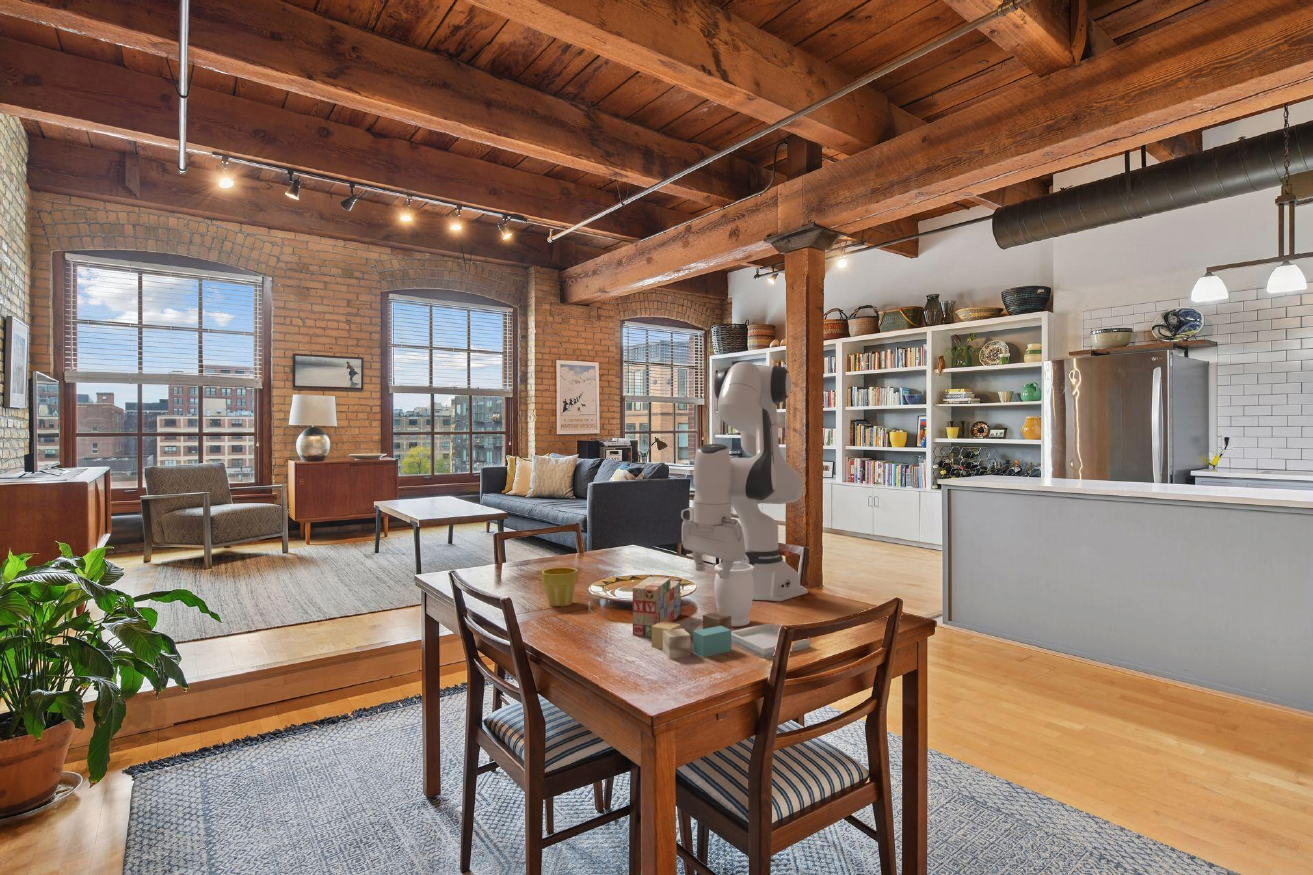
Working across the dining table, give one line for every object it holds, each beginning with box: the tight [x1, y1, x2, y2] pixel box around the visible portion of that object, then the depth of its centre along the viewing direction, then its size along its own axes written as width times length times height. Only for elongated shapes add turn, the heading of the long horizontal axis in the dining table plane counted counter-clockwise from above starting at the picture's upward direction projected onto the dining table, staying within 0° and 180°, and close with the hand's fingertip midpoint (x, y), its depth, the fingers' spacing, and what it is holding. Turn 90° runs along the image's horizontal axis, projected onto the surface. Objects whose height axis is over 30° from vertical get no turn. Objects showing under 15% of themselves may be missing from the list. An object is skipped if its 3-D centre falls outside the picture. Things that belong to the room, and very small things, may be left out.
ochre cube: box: [651, 621, 682, 650], centre depth 160 cm, size 5×5×5 cm
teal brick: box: [692, 626, 732, 658], centre depth 156 cm, size 8×4×5 cm, turn 121°
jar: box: [713, 562, 754, 627], centre depth 178 cm, size 11×10×15 cm
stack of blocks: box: [632, 576, 682, 638], centre depth 177 cm, size 21×6×12 cm, turn 161°
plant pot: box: [541, 566, 579, 607], centre depth 197 cm, size 10×10×10 cm
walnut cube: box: [702, 610, 732, 631], centre depth 168 cm, size 5×5×5 cm
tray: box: [731, 622, 811, 659], centre depth 161 cm, size 14×14×2 cm
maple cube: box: [662, 628, 691, 660], centre depth 155 cm, size 5×5×5 cm
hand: (712, 574), depth 156 cm, fingers open, 8 cm apart
